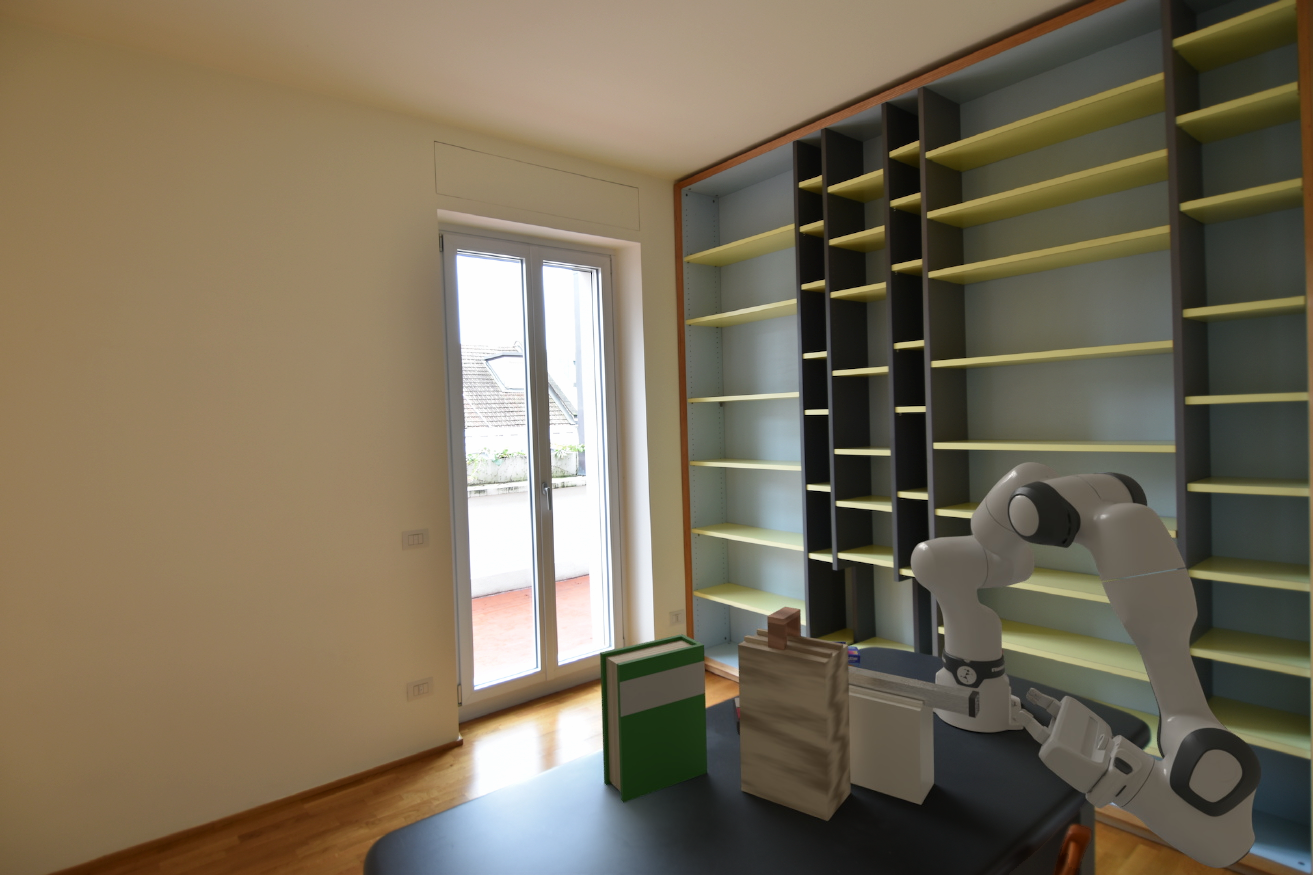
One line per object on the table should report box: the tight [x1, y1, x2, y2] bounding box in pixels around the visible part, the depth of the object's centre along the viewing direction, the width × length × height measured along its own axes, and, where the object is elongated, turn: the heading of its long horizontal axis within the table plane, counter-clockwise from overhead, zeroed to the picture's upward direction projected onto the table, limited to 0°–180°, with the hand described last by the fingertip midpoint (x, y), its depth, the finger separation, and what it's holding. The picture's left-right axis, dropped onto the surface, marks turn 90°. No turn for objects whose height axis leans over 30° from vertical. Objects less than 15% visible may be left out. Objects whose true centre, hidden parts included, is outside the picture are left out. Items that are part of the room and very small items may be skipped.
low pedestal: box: [849, 685, 935, 806], centre depth 121 cm, size 8×14×17 cm, turn 53°
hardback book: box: [599, 633, 708, 803], centre depth 125 cm, size 18×7×24 cm, turn 121°
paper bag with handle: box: [737, 606, 852, 822], centre depth 119 cm, size 10×16×31 cm, turn 53°
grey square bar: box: [848, 666, 980, 718], centre depth 119 cm, size 3×24×3 cm, turn 53°
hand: (1023, 702), depth 108 cm, fingers open, 8 cm apart
